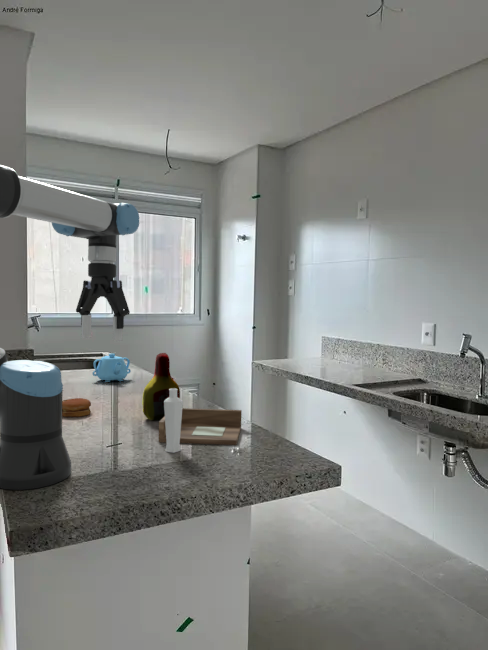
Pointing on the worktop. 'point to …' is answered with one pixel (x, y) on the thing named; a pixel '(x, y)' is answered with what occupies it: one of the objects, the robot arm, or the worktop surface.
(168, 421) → the white faceted vase
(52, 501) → the worktop surface
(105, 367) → the teapot
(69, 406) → the burger
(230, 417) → the brown wooden flat tray
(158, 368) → the bottle
